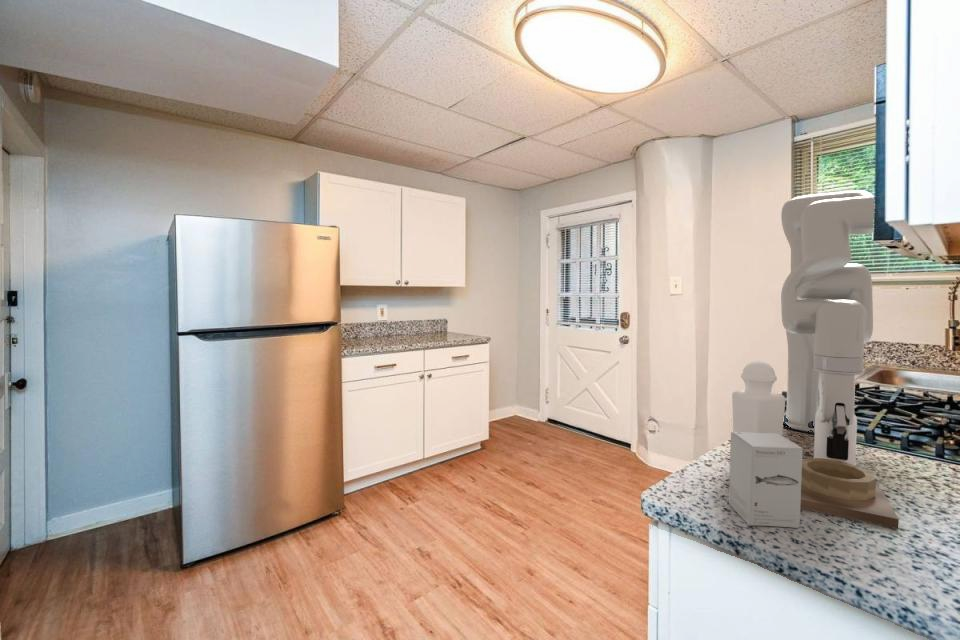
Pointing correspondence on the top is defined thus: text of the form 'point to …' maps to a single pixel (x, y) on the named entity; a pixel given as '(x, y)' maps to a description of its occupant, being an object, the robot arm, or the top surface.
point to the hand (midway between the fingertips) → (834, 451)
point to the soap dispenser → (758, 401)
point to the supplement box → (765, 479)
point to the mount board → (844, 492)
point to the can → (823, 433)
